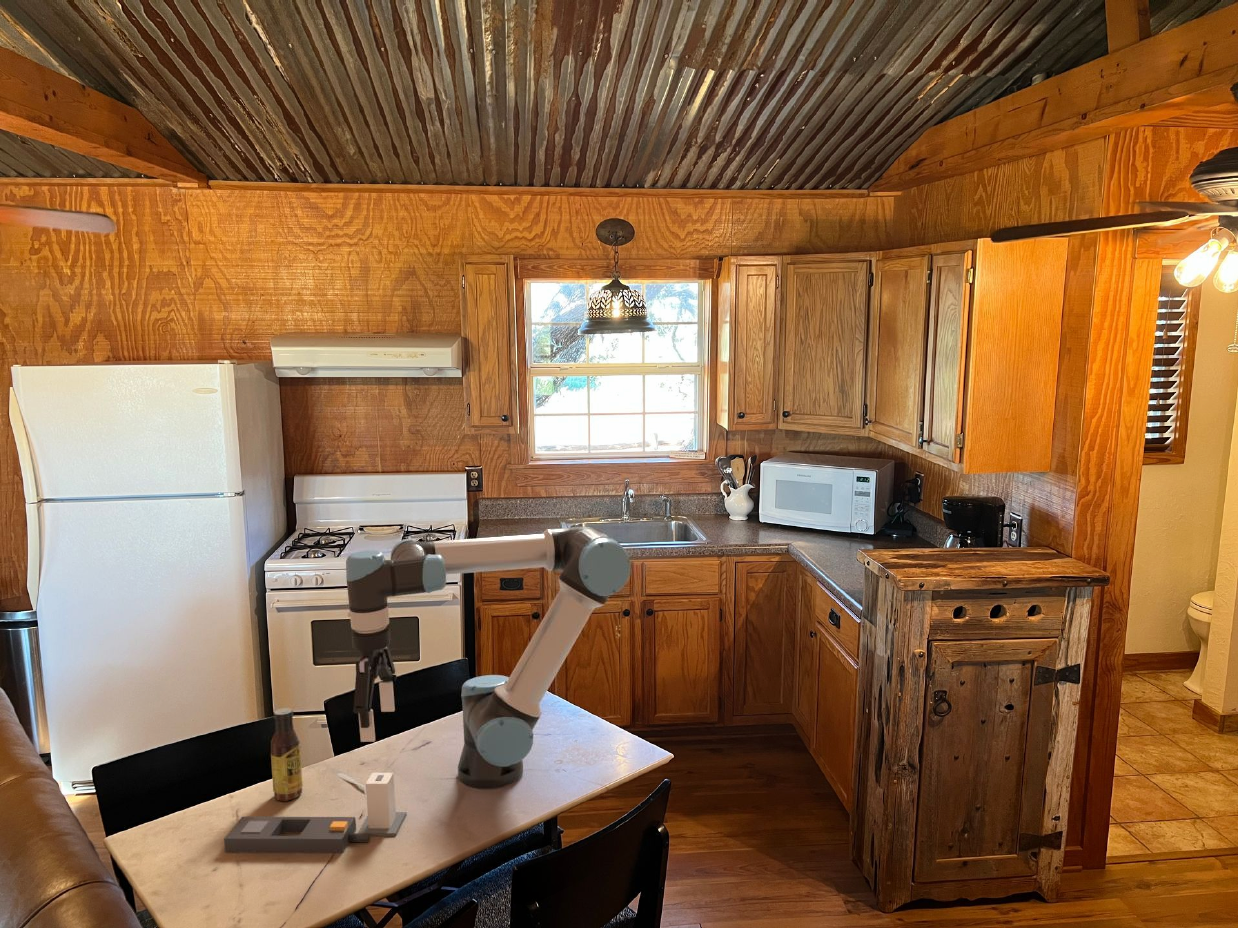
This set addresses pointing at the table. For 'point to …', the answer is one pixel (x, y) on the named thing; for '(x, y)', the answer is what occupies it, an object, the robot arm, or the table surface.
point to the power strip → (313, 838)
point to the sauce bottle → (286, 757)
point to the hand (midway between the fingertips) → (378, 725)
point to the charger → (381, 800)
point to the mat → (384, 831)
